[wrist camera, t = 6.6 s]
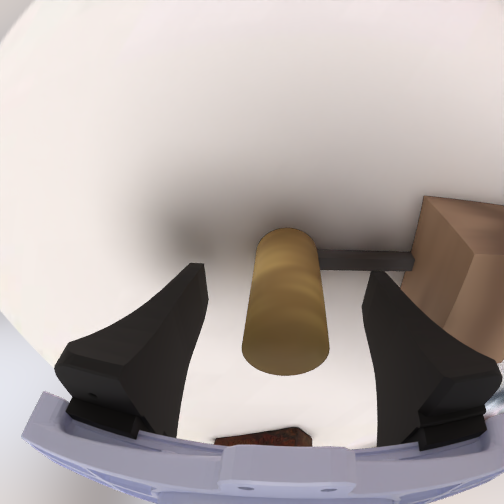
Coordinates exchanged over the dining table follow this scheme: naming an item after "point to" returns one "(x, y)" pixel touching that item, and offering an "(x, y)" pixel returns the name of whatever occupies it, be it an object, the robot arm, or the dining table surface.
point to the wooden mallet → (413, 263)
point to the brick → (270, 439)
